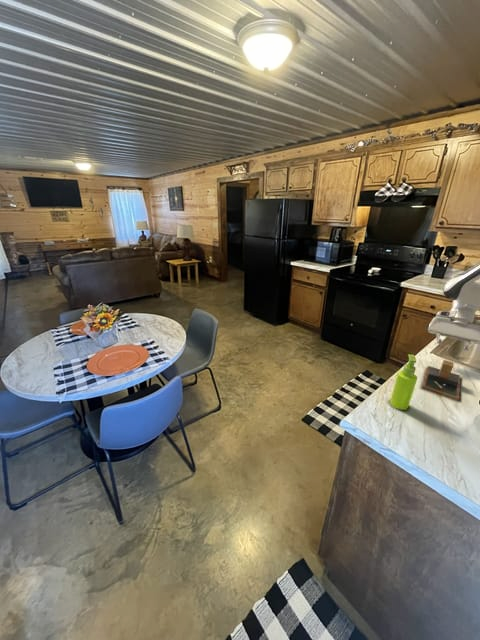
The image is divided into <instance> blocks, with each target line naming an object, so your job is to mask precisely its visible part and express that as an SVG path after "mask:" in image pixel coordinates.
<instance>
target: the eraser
mask: <svg viewBox="0 0 480 640" xmlns="http://www.w3.org/2000/svg"><path fill="white" fill-rule="evenodd" d="M453 368H454V362H452V361H449V360H445V359H443V361H442V363H441V366H440V368H439V369H440V371H436V370H433V369H430V371H429V374H428V378H427V379H431V380H434V381H437V382H440V383H443V384H446V385H449V386H453V387H456V388H457V385H458V383H459V377H456V376H453V375H450V374H451V373H452V371H453Z"/></svg>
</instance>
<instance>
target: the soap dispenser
mask: <svg viewBox="0 0 480 640" xmlns="http://www.w3.org/2000/svg"><path fill="white" fill-rule="evenodd" d="M407 358H408V363H407V364H405V365H403V370H399V371H398V372H397V375H396V379H395V382H394V386H393V390H392V393H391V396H390V400H389V403H390V405H391V406H392V407H393V408H395V409H397V410H400V411H401V410H402V411H404V410H407V409H409V405H410V402H411V399H412V395H413V393H414V390H415V387H416V383H417V380H418V376H417V375H416V374H415V372H416V368H417V367H415V364H416V363H417V359H416V356H415V354H410V353H407Z"/></svg>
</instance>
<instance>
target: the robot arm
mask: <svg viewBox="0 0 480 640" xmlns="http://www.w3.org/2000/svg"><path fill="white" fill-rule="evenodd" d="M478 280H480V261H479V262H477V263H476V264H474V265H473V266H471V267H469V268H467V269H466V270H465V271H463V272H462V273H460V274H458V275H455V276H453V277H451V278H449V280H447V281H446V282H445V284H444V285H443V288H442V293H443V295H444V297H445V298H446V299H447V300H452V303H451V309H450V310H440V311H438V312H437V313H436V315H435V316H434V317H433V318H432V320H431V321H430V323H429V326H428V328H427V332H428V333H429V334H433V335H435V338H436V340H437V341H436V344H437V345H442V342H443V339H441V338H440V337H445V338H450V339H454V340H459V341H463V342H467V343H468V345H466V344H465V345H464V347H463V351H466V352H469V350H470V348H471V347H473V346H474V345H480V322H477V321H475V318H476V312H480V282H478Z"/></svg>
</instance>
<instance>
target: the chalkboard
mask: <svg viewBox="0 0 480 640" xmlns="http://www.w3.org/2000/svg"><path fill="white" fill-rule="evenodd" d="M430 369H433V370H436V371H440V368H436V367H435V366H430V365H427V367H426V371H425V374H424V378H423V382H422V385H421V389H423V390H425V391H429V392H432V393H435V394H437V395H441V396H444V397H446V398H449V399H453V400H455V401H459V400H460V389H461V374H459V373H458V374H457V373H454V372H451V374H450V375H453V376H456V377H459V383H458V385H457V388H456V387H453V386H449V385H446V384H443V383H440V382H437V381H434V380H431V379H427V378H428V374H429V371H430Z"/></svg>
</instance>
